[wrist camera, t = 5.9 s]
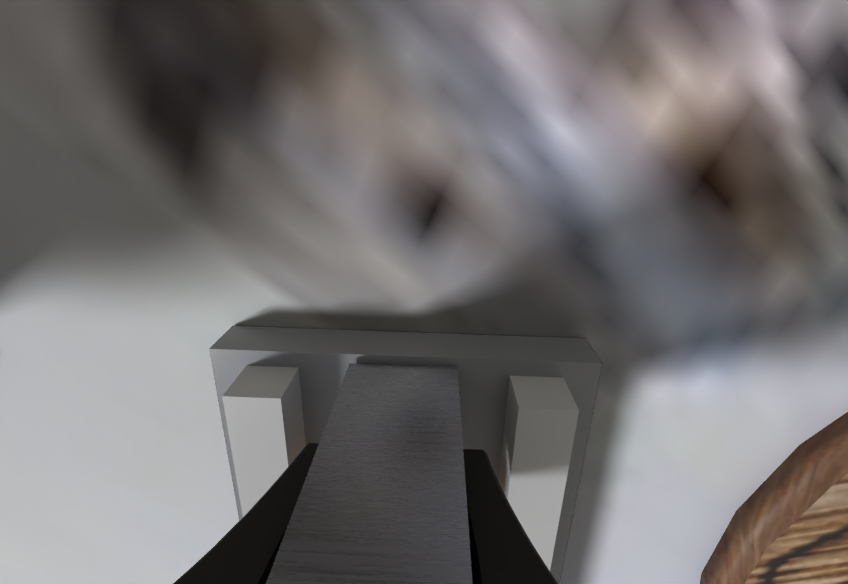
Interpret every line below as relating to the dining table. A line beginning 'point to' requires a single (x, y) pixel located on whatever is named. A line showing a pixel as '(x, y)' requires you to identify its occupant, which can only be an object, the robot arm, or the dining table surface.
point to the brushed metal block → (384, 485)
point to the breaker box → (479, 404)
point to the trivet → (792, 520)
